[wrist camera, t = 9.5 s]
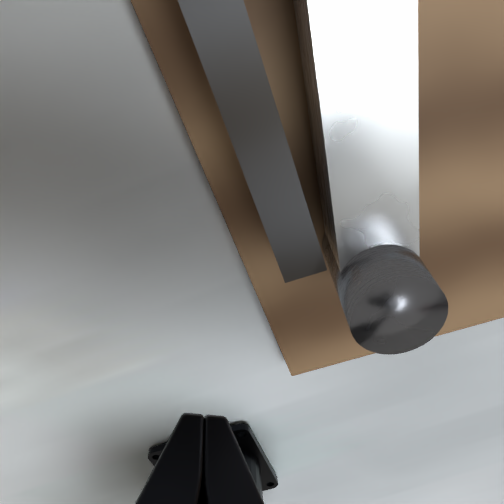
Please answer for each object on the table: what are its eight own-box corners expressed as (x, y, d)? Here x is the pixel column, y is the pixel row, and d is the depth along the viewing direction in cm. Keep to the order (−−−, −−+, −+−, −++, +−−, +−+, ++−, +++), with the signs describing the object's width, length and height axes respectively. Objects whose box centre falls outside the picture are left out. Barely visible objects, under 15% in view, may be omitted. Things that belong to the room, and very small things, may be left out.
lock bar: (399, 264, 20) (447, 344, 15) (326, 278, 20) (353, 361, 16) (384, -136, 13) (466, -189, 8) (271, -107, 13) (294, -145, 9)
